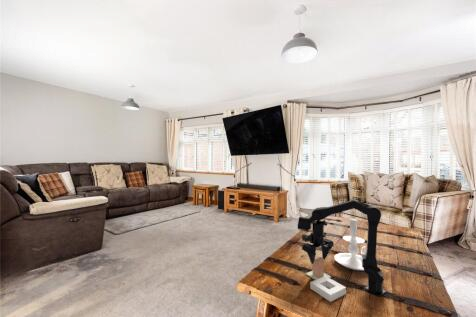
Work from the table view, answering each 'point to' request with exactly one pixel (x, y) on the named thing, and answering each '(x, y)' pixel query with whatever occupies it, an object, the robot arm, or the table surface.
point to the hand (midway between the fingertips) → (318, 261)
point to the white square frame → (329, 294)
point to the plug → (318, 267)
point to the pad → (315, 276)
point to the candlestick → (352, 250)
